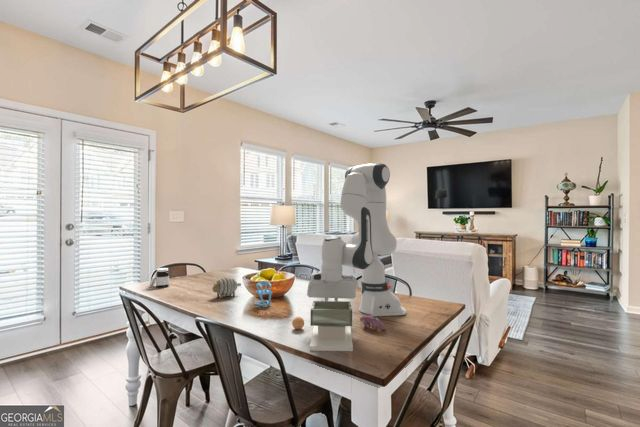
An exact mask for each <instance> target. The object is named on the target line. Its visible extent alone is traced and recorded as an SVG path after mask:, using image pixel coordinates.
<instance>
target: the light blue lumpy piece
mask: <svg viewBox="0 0 640 427" xmlns="http://www.w3.org/2000/svg"><path fill="white" fill-rule="evenodd" d="M268 285H269V289H267V288H268ZM263 286H265V287H264V289H263ZM255 294H257V295H258V296H259V297H260V300H261V301H257V302H256V301H255V302H254V303H253V304H254V306H259V307H263V308H266V307H271V299H272V295H273V291H272V284H271V283H270V282H269V281H264V280H262V281H259V282H258V283H256V290H255ZM265 295H268V300H264V298H263V296H265ZM266 304H267V305H266Z"/></svg>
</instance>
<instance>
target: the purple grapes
mask: <svg viewBox="0 0 640 427" xmlns="http://www.w3.org/2000/svg"><path fill="white" fill-rule="evenodd" d="M359 320H360V322H361V323H362V324H363V325H364V326H365V327H366V329H370V328H371V329H372V330H373V331H377V329H378V330H381V331H385V330H386V325H385V324H384V323H383V321H381V319H379V318H378V317H376V316H372V315H370V314H364V315H362V316H361V317H360V319H359Z"/></svg>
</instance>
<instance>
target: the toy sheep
mask: <svg viewBox="0 0 640 427" xmlns="http://www.w3.org/2000/svg"><path fill="white" fill-rule="evenodd" d="M241 286H242V283H238V282H237V281H236V279H235V278H233V277H226V276H225V277H222V278H220V279H217V281H216V283H213V286H212V291H213V293H217V294H216V297H217V298H220V299H223V297H224V296H225V297H228V296H232V297H235V296H236V295H235V294H236V290H237V289H238V287H241Z"/></svg>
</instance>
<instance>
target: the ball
mask: <svg viewBox="0 0 640 427" xmlns="http://www.w3.org/2000/svg"><path fill="white" fill-rule="evenodd" d="M291 325H292V327H293V328H294V329H295V330H301V329H302V328H303V327H304V326H305V320H304V319H303V317H301V316H296V317H294V318H293V319H292V322H291Z"/></svg>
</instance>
